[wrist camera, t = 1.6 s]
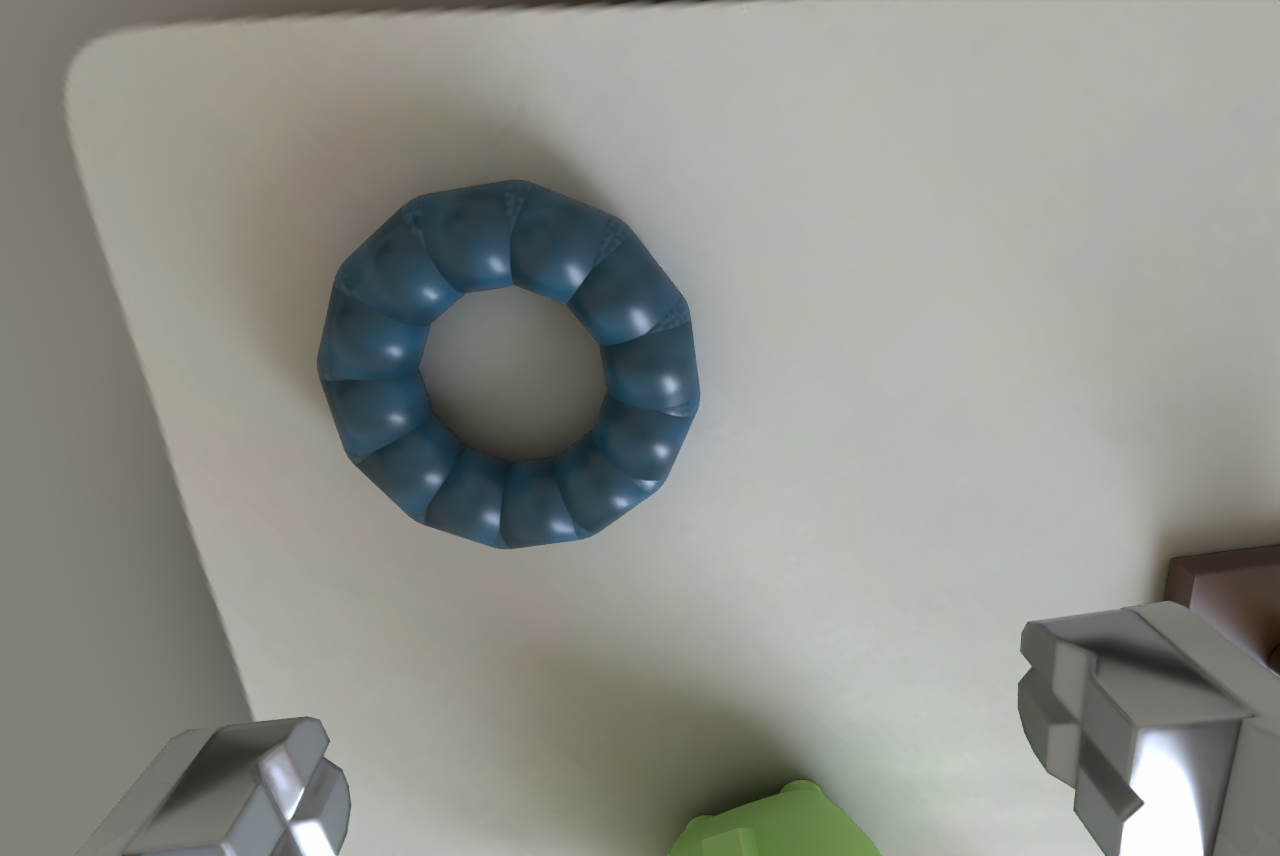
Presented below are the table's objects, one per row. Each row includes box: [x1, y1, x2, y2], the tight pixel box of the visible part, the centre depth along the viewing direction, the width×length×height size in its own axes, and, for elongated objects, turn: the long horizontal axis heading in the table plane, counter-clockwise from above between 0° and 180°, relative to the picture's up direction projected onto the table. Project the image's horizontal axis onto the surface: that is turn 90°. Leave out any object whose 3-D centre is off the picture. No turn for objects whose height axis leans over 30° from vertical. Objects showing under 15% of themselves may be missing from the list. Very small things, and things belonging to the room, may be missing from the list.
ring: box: [317, 180, 700, 549], centre depth 22 cm, size 12×12×3 cm
